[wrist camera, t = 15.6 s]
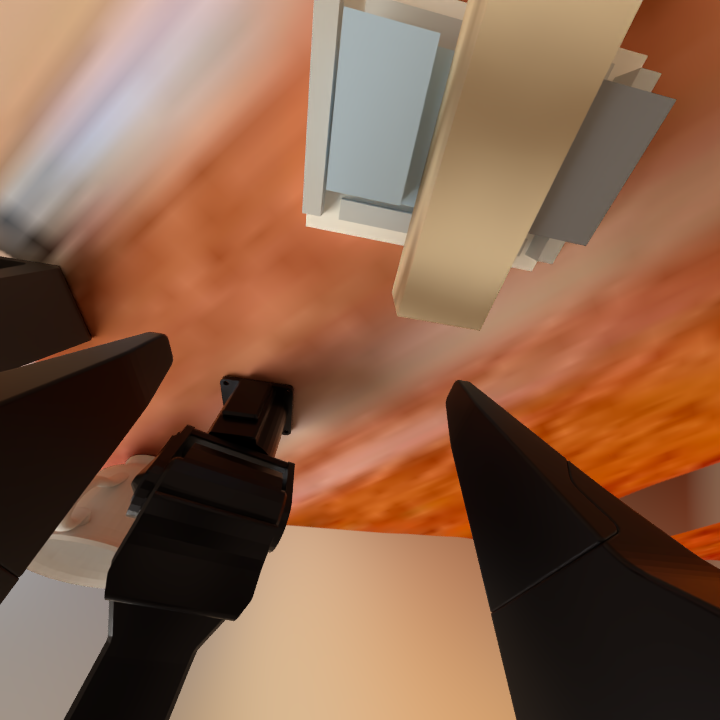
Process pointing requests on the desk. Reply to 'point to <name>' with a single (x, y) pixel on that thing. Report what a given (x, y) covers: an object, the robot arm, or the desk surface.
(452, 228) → the tan rectangular bar
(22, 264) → the phone stand
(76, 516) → the teacup
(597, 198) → the light blue block
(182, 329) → the desk surface
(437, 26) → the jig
